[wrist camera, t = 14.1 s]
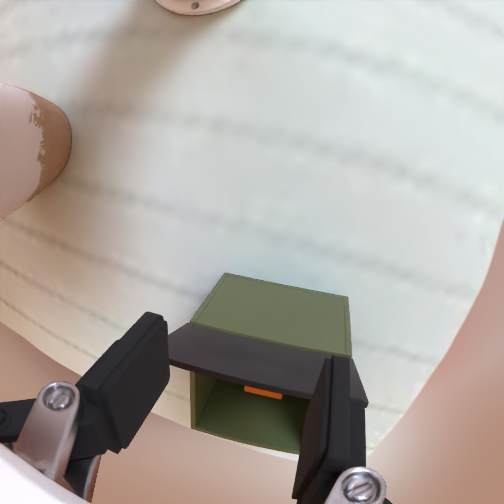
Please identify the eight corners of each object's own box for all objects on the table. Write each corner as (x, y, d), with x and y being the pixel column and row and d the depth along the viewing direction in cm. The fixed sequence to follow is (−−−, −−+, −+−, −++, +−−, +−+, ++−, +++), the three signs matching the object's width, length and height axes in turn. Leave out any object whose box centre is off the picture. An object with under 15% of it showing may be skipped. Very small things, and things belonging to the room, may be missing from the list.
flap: (186, 327, 24) (187, 322, 24) (351, 362, 22) (352, 358, 22) (142, 356, 17) (143, 349, 17) (366, 408, 15) (369, 401, 15)
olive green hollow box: (224, 272, 34) (190, 320, 25) (348, 296, 32) (352, 355, 23) (216, 375, 39) (191, 428, 31) (315, 396, 37) (308, 456, 29)
